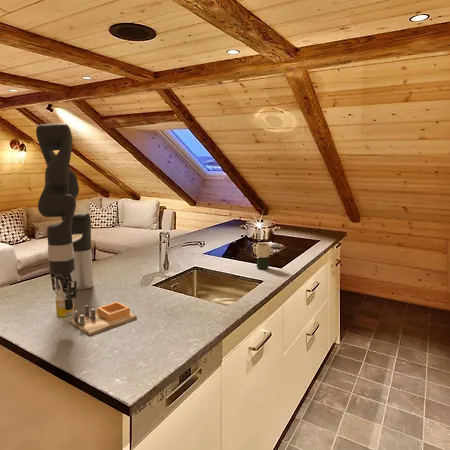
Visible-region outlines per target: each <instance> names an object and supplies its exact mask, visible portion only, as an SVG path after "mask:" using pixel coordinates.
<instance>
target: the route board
mask: <svg viewBox="0 0 450 450" xmlns="http://www.w3.org/2000/svg"><path fill="white" fill-rule="evenodd" d="M115 311H118V309H116V310H112V311H109V313H112V312H115ZM89 313H90V314H91V312H89ZM83 315H84V323H85V325H84V326H81V325H79V324H78V323H76V322H75V321H74V317H72V318H70V319H69V322H70V324H72V325H74V326H75V327H77V328H78V329H80V330H81V331H82V332H84V333H85V334H87V335H88V336H92V335H95V334H98V333H100V332H103V331H106V330H109V329H111V328H114V327H117V326H120V325H123V324H125V323H127V322H131V321H133V320H137V318H138V317H137V316H138V315H136V314H134V313H132V312H130V314H129V315H126V316H123V317H120V318H118V319H115V320H112V321H108V320H107V319H105V318H103V317H101V316H100V315H98V310H95V317H96V319H93V320H92V319H91V318H89V317H87V316H86V315H85V314H83ZM78 319H79V320H80V316H78Z"/></svg>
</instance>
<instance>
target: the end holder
mask: <svg viewBox="0 0 450 450" xmlns="http://www.w3.org/2000/svg"><path fill="white" fill-rule="evenodd" d="M116 309H118V311H115V312H112V313H109V311H112V310H116ZM96 311H98V315H100V316H101V317H103V318H105V319H107V320H108V321H112V320H115V319H118V318H120V317H123V316H126V315H129V314H130V313H131V309H130V307H129V306H127V305H126V304H123V303H121V302H120V301H115V302H112V303H108V304H106V305H102V306H100V307H97V309H96Z"/></svg>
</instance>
